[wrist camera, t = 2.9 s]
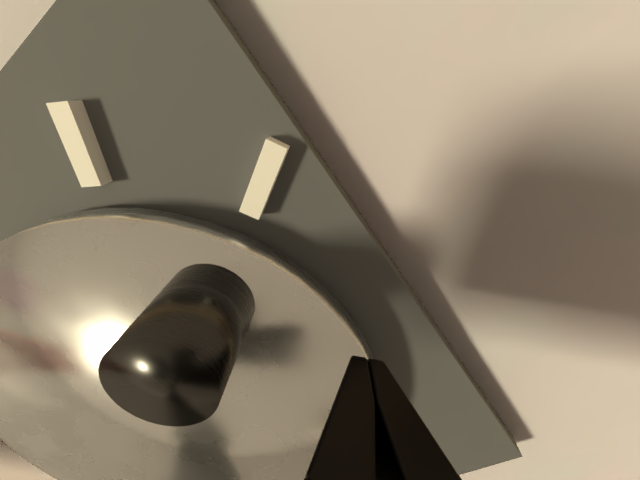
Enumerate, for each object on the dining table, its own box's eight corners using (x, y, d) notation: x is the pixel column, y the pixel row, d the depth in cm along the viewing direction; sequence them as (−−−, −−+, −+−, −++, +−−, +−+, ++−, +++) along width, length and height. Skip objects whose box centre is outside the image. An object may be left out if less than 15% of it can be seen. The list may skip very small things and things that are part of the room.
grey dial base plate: (513, 438, 14) (535, 482, 13) (203, 534, 20) (192, 573, 19) (157, -84, 7) (104, -134, 6) (-161, 298, 13) (-231, 328, 12)
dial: (286, 530, 17) (272, 648, 14) (-21, 437, 15) (-134, 547, 11) (466, 330, 10) (532, 455, 7) (-39, 110, 8) (-325, 126, 5)
